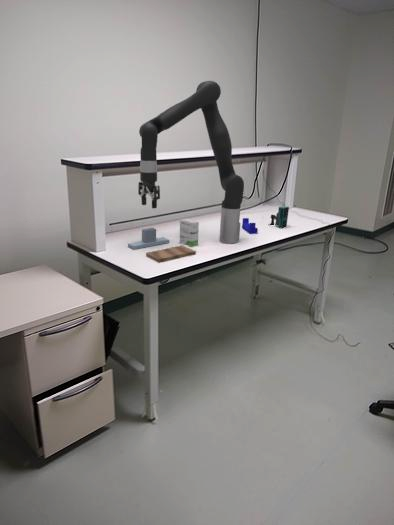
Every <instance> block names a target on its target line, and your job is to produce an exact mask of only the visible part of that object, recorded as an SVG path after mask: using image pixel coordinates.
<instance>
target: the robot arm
mask: <svg viewBox="0 0 394 525" xmlns="http://www.w3.org/2000/svg"><path fill="white" fill-rule="evenodd" d="M221 91H222V90H221V87H220V85H219V83H218V82H216V81H214V80H205V81H202V82H200V83H199V84H197V87H196V90H195V92H194V93H193V94H192V95H190V96H188V97H187V98H186V99H184V100H182V101H180V102H178V103H175V104H174V105H172V106H170V107H169V108H167V109H165V110H164V111H163V112H161V113H160V114H158V115H157V116H156V117H153V118H152V119H150V120H148V121H146V122H144V123H143V124H141V126H140V127H139V131H138V133H139V136H140V137H141V147H140V152H139V153H140V163H139V171H140V172H139V173H140V174H139V176H140V177H139V179H140V181H139V182H138V185H137V186H138V187H137V188H138V191H137V192H138V193H137V194H138V195H139V196H140V197H141V199H140V200H141V205H142V206H146V205H147V195H148V196H149V197H150V198H151V208H152V209H157V206H158V205H157V204H158V200H160V199H161V193H160V192H161V190H160V188H161V187H160V185H156V182H158V163H157V162H158V161H157V145H158V135H159V134H161V133H162V132H164V131H168V130H169V129H171V128H172V127H173V126H175V125H177V124H178V123H179V122H181V121H183V120H184V119H186V118H187V117H188V116H190V115H191V114H193V113H194V112H196V111H198V110H200V109H201V111H202V115H203V117H204V123H205V126H206V130H207V134H208V138H209V143H210V146H211V148H212V149H211V150H212V152H213V156H214V159H215V163H216V165H217V170H218V176H219V180H220V185H221V188H222V189H223V191H224V199H223V200H222V202H221V209H220V210H221V212H220V227H219V242H220V243H223V244H237V243H238V242H240V236H241V235H240V233H241V222H240V216H241V206H242V202H243V199H244V198H243V197H244V192H245V191H244V190H245V182H244V179H243V178H242V176H240V175H238V174H236V170H235V169H234V165H233V161H232V156H233V155H232V154H233V153H232V152H233V149H232V148H233V145H232V141H231V140H232V139H231V136H230V133H229V130H228V127H227V125H226V123H225V121H224V119H223V118H222V115H221V114H220V111H219V106H218V102H217V101H218V100H219V98H220V97H221V93H222V92H221Z"/></svg>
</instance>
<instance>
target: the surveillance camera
mask: <svg viewBox="0 0 394 525" xmlns="http://www.w3.org/2000/svg"><path fill="white" fill-rule="evenodd" d="M289 211H290V207H289V206H286V207H285V206H279V207H278V212H277V213H276V215H275V214H271V215H270V219H271V222H270V223H269V224H270V225H274V224H275V226H278V228H280V229H285V228H284V227H286V226H287V225H288V217H289ZM269 224H267V225H268V226H270V225H269ZM286 228H287V227H286Z"/></svg>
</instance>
